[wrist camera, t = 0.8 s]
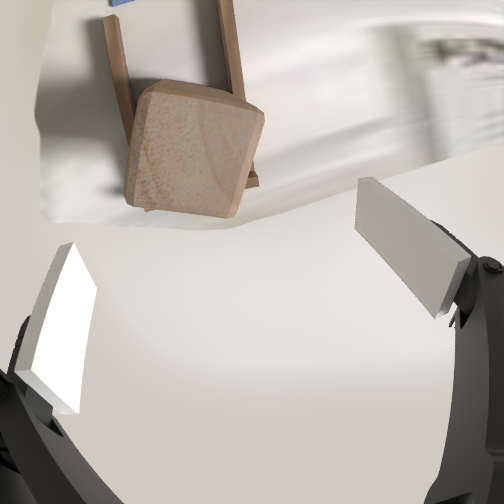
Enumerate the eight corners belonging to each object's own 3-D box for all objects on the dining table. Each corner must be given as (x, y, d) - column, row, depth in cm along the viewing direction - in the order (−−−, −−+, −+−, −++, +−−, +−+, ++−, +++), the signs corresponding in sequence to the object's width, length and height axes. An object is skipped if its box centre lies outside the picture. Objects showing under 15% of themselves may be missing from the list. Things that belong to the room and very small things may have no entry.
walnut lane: (227, -4, 28) (233, -13, 24) (250, 173, 45) (259, 186, 41) (107, 21, 26) (98, 15, 22) (147, 196, 43) (145, 212, 39)
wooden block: (229, 90, 37) (272, 112, 21) (211, 156, 42) (237, 224, 26) (158, 77, 33) (139, 86, 18) (143, 146, 38) (121, 210, 23)
